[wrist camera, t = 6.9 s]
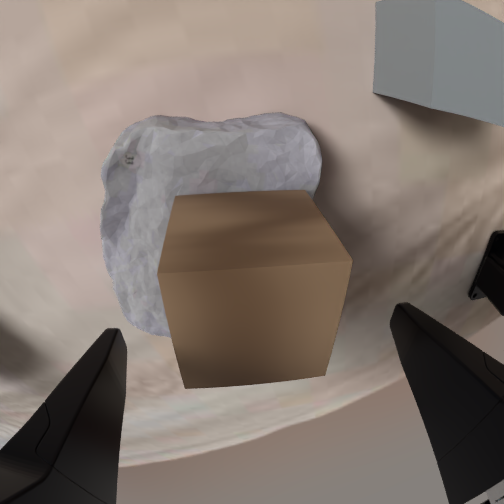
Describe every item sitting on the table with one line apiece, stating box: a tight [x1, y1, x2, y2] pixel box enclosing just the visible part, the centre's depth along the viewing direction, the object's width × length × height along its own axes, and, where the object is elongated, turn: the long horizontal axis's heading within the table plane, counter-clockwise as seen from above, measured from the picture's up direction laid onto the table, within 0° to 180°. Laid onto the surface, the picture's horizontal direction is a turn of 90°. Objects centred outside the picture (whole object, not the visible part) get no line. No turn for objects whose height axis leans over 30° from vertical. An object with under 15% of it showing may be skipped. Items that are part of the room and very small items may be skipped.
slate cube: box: [373, 0, 504, 127], centre depth 11 cm, size 5×5×5 cm
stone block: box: [100, 113, 322, 338], centre depth 16 cm, size 12×5×10 cm
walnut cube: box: [157, 190, 353, 389], centre depth 11 cm, size 5×5×5 cm
